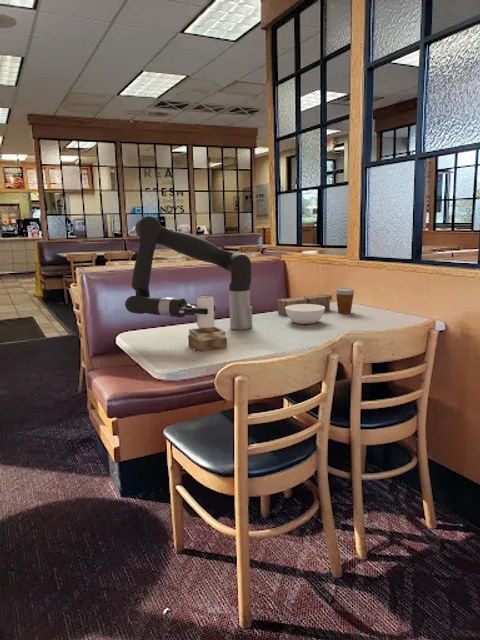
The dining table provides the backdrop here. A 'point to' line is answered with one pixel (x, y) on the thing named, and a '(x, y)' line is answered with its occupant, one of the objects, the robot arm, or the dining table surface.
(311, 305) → the bowl
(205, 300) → the can
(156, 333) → the dining table surface
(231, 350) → the dining table surface
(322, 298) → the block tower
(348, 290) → the disposable coffee cup
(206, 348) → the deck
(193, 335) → the square wooden tray
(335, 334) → the dining table surface
